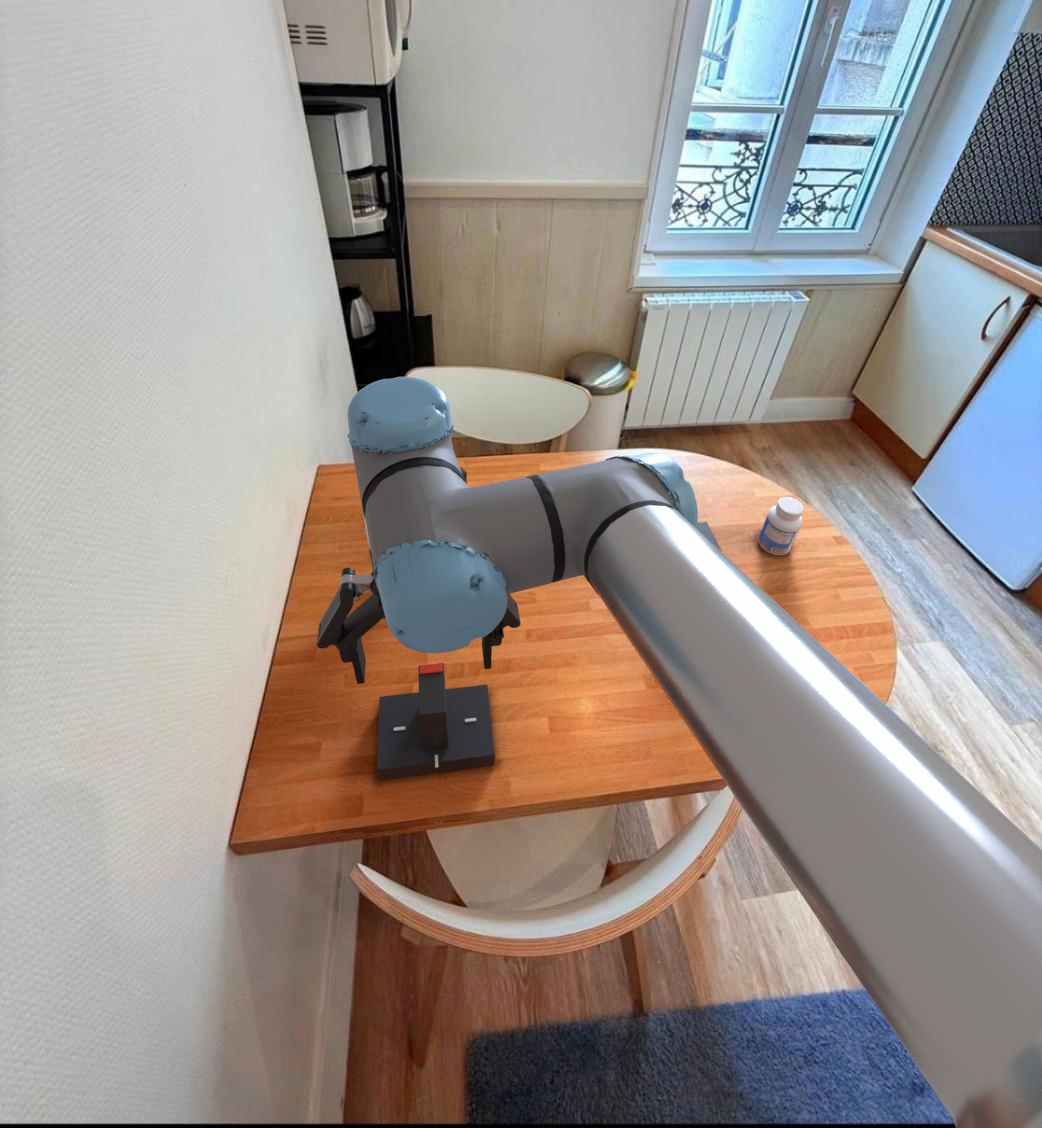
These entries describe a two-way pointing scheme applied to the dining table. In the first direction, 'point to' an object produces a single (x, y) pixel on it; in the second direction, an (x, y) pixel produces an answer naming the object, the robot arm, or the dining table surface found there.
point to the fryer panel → (404, 736)
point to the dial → (433, 706)
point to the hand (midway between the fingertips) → (425, 664)
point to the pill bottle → (781, 526)
